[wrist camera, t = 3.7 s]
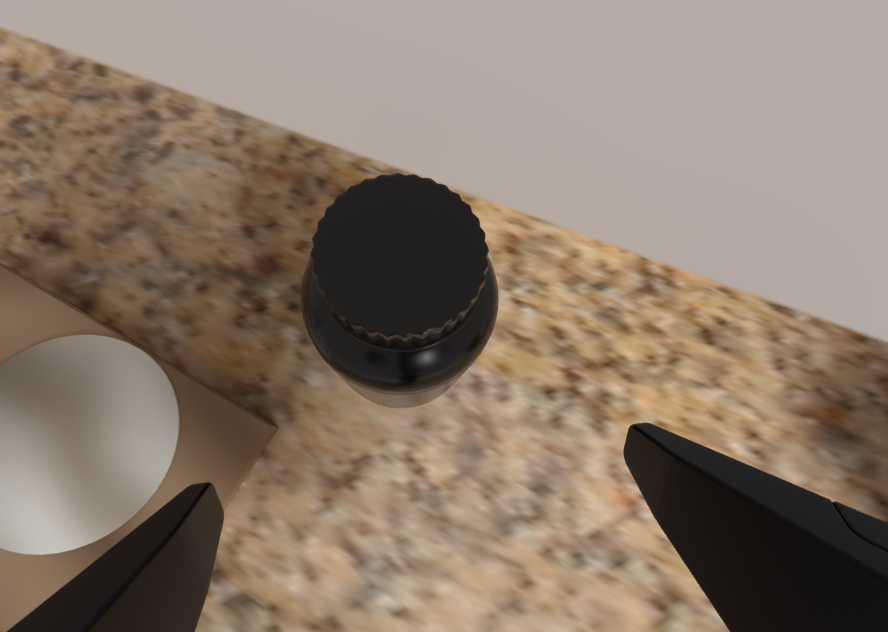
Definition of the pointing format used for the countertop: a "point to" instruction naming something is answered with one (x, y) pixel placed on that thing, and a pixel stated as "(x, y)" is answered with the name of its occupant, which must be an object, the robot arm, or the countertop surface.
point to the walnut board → (96, 441)
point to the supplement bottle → (399, 289)
